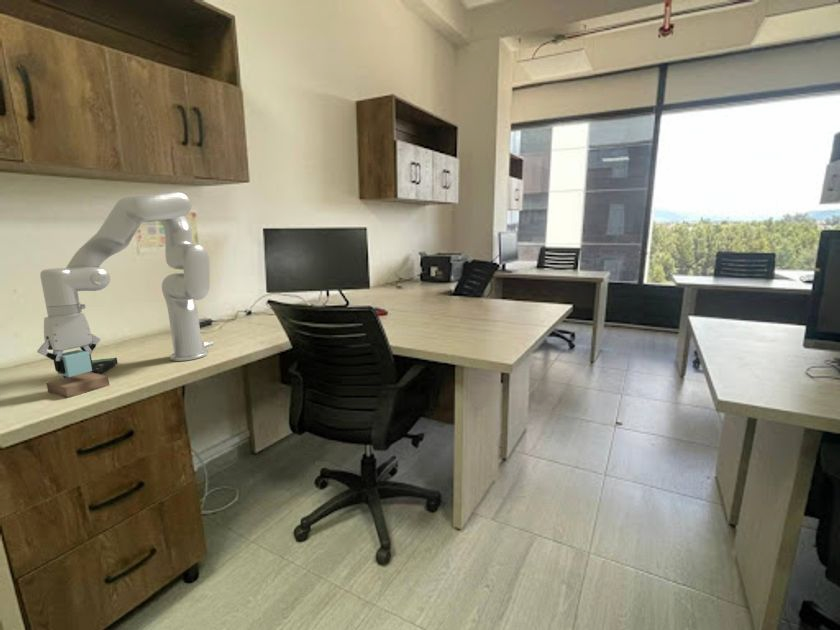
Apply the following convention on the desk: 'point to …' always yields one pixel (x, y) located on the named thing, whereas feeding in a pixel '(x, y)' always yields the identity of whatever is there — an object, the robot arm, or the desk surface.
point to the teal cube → (76, 363)
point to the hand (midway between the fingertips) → (74, 369)
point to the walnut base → (77, 384)
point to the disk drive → (102, 365)
